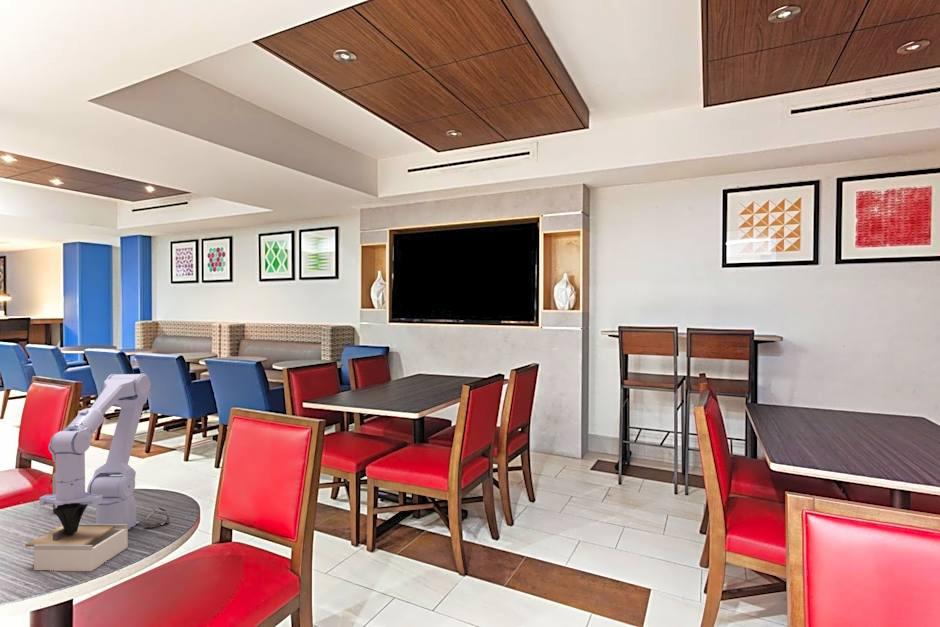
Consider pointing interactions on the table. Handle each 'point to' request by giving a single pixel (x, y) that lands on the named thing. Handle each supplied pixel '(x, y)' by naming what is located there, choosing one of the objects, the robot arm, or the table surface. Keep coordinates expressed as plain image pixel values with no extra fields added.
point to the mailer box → (82, 551)
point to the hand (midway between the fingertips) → (71, 533)
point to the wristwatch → (153, 513)
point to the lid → (71, 536)
